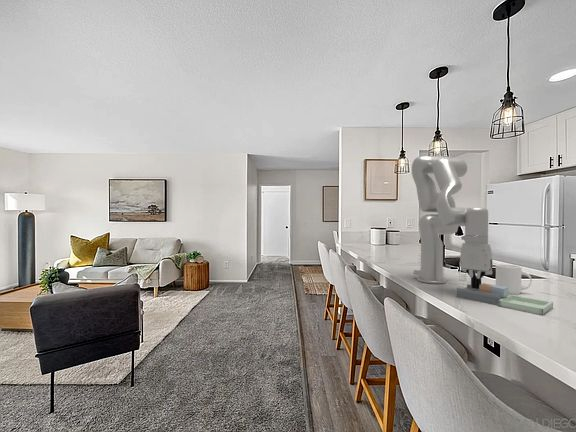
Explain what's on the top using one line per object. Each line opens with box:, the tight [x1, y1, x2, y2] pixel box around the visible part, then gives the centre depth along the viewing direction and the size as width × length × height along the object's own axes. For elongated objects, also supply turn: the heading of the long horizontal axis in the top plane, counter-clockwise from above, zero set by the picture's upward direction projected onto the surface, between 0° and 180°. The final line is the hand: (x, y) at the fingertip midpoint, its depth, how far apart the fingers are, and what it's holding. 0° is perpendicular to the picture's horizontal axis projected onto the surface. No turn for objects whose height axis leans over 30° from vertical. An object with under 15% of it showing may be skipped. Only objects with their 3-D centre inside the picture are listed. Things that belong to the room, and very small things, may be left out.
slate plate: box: [456, 283, 504, 306], centre depth 118 cm, size 14×10×4 cm
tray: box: [497, 294, 554, 316], centre depth 108 cm, size 12×12×2 cm
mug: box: [495, 263, 532, 295], centre depth 128 cm, size 9×12×11 cm
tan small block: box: [479, 282, 496, 293], centre depth 117 cm, size 4×4×3 cm
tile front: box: [491, 284, 509, 297], centre depth 113 cm, size 4×4×3 cm
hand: (476, 288), depth 120 cm, fingers closed
